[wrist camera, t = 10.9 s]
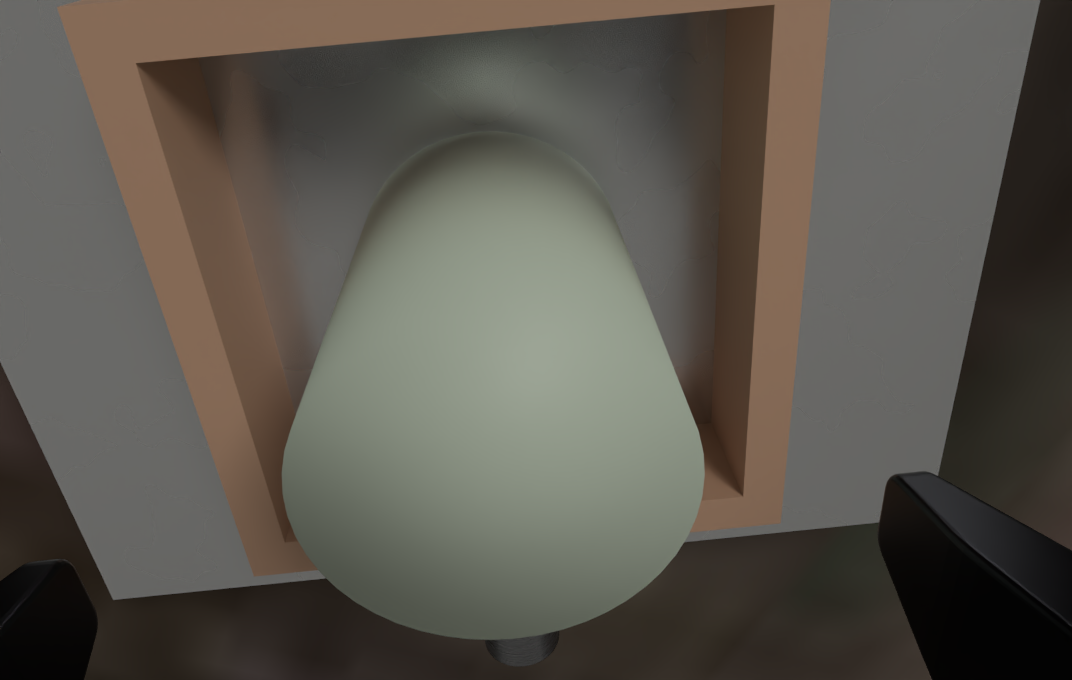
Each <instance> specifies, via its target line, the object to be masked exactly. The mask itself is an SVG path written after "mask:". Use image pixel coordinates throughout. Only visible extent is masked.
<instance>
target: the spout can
mask: <svg viewBox="0 0 1072 680" xmlns="http://www.w3.org/2000/svg"><path fill="white" fill-rule="evenodd" d="M704 478H705V470H704V453H703V448H702V444H701V439H700V435H699V431H698V429H697V426H696V423H695V421H694V418H693V416H692V413H691V411H690V408H689V406H688V403H687V400H686V398H685V395H684V393H683V390H682V388H681V385H680V383H679V380H678V377H677V375H676V372H675V370H674V367H673V365H672V362H671V360H670V357H669V354H668V352H667V349H666V347H665V344H664V342H663V339H662V337H661V334H660V332H659V329H658V326H657V324H656V321H655V319H654V316H653V314H652V311H651V309H650V306H649V303H648V301H647V298H646V296H645V293H644V291H643V288H642V286H641V283H640V280H639V278H638V275H637V273H636V270H635V268H634V265H633V263H632V260H631V257H630V255H629V252H628V250H627V247H626V245H625V242H624V240H623V237H622V234H621V232H620V229H619V227H618V224H617V222H616V219H615V217H614V214H613V212H612V209H611V207H610V204H609V202H608V200H607V198H606V196H605V195H604V193H603V191H602V190H601V188H600V186H599V185H598V184H597V183H596V181H595V180H594V179H593V177H592V176H591V175H590V174H589V173H588V172H587V171H586V170H585V169H584V168H583V167H582V166H581V165H580V164H579V163H578V162H577V161H575V160H574V159H572V158H571V157H570V156H568V155H567V154H566V153H564V152H563V151H561V150H559V149H557V148H555V147H553V146H552V145H550V144H548V143H545V142H542V141H540V140H537V139H535V138H532V137H528V136H524V135H520V134H515V133H508V132H498V131H489V132H473V133H467V134H461V135H457V136H454V137H450V138H447V139H444V140H441V141H439V142H437V143H434V144H432V145H430V146H428V147H426V148H424V149H423V150H421V151H419V152H418V153H416V154H415V155H413V156H411V157H410V158H409V159H408V160H407V161H405V162H404V163H403V164H402V165H401V166H399V167H398V168H397V169H396V170H395V172H394V173H393V174H392V175H391V176H390V177H389V178H388V179H387V180H386V182H385V183H384V185H383V186H382V188H381V189H380V191H379V192H378V194H377V196H376V198H375V200H374V202H373V204H372V206H371V208H370V211H369V214H368V216H367V219H366V222H365V225H364V227H363V230H362V233H361V236H360V239H359V241H358V244H357V247H356V250H355V252H354V255H353V258H352V261H351V264H350V266H349V269H348V272H347V275H346V277H345V280H344V283H343V286H342V288H341V291H340V294H339V297H338V300H337V302H336V305H335V308H334V311H333V313H332V316H331V319H330V322H329V325H328V327H327V330H326V333H325V336H324V338H323V341H322V344H321V347H320V349H319V352H318V355H317V358H316V361H315V363H314V366H313V369H312V372H311V374H310V377H309V380H308V383H307V385H306V388H305V391H304V394H303V397H302V399H301V402H300V405H299V408H298V410H297V413H296V416H295V419H294V422H293V424H292V427H291V430H290V433H289V437H288V440H287V443H286V447H285V450H284V457H283V465H282V492H283V499H284V503H285V508H286V512H287V516H288V519H289V522H290V524H291V527H292V529H293V532H294V534H295V537H296V538H297V540H298V542H299V543H300V545H301V547H302V548H303V550H304V552H305V554H306V555H307V556H308V558H309V559H310V560H311V562H312V563H313V564H314V565H315V567H316V568H317V569H318V570H319V572H320V573H321V574H322V575H323V576H324V577H325V578H327V579H328V580H329V581H330V582H331V583H332V584H333V585H334V586H335V587H336V588H337V589H338V590H340V591H341V592H342V593H344V594H345V595H346V596H348V597H349V598H350V599H352V600H353V601H354V602H356V603H358V604H360V605H361V606H363V607H365V608H366V609H368V610H370V611H372V612H373V613H375V614H377V615H379V616H382V617H384V618H386V619H388V620H391V621H393V622H395V623H398V624H401V625H404V626H407V627H410V628H413V629H416V630H419V631H423V632H428V633H432V634H437V635H441V636H447V637H455V638H463V639H480V640H485V643H486V646H487V649H488V651H489V652H490V654H491V655H492V656H493V657H494V658H495V659H496V660H498V661H500V662H502V663H504V664H507V665H510V666H528V665H532V664H535V663H538V662H540V661H542V660H543V659H545V658H546V657H547V656H549V655H550V654H551V653H552V651H553V650H554V649H555V647H556V645H557V643H558V640H559V630H563V629H566V628H569V627H572V626H575V625H578V624H581V623H584V622H586V621H589V620H591V619H593V618H595V617H597V616H600V615H602V614H604V613H606V612H608V611H610V610H612V609H613V608H615V607H617V606H618V605H620V604H622V603H624V602H625V601H627V600H628V599H630V598H631V597H632V596H634V595H635V594H637V593H638V592H639V591H641V590H642V589H643V588H645V587H646V586H647V585H648V584H649V583H650V582H651V581H652V580H653V579H655V578H656V577H657V576H658V575H659V574H660V573H661V572H662V571H663V570H664V569H665V567H666V566H667V565H668V564H669V563H670V561H671V560H672V559H673V558H674V557H675V555H676V554H677V553H678V551H679V549H680V548H681V546H682V545H683V543H684V542H685V540H686V538H687V537H688V535H689V533H690V530H691V528H692V526H693V524H694V522H695V519H696V517H697V514H698V510H699V507H700V503H701V499H702V495H703V486H704Z"/></svg>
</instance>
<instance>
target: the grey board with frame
mask: <svg viewBox="0 0 1072 680" xmlns="http://www.w3.org/2000/svg"><path fill="white" fill-rule="evenodd" d="M1039 4H1040V0H0V362H1V365H2V367H3V369H4V371H5V373H6V375H7V377H8V379H9V381H10V383H11V386H12V388H13V390H14V392H15V394H16V396H17V398H18V400H19V402H20V405H21V407H22V409H23V411H24V413H25V415H26V417H27V419H28V421H29V424H30V426H31V428H32V430H33V432H34V434H35V436H36V438H37V440H38V442H39V445H40V447H41V449H42V451H43V453H44V455H45V457H46V459H47V461H48V464H49V466H50V468H51V470H52V472H53V474H54V476H55V478H56V480H57V483H58V485H59V487H60V489H61V491H62V493H63V495H64V497H65V499H66V501H67V504H68V506H69V508H70V510H71V512H72V514H73V516H74V518H75V520H76V523H77V525H78V527H79V529H80V531H81V533H82V535H83V537H84V539H85V542H86V544H87V546H88V548H89V550H90V552H91V554H92V556H93V558H94V560H95V563H96V565H97V567H98V569H99V571H100V573H101V575H102V577H103V579H104V582H105V584H106V586H107V588H108V590H109V592H110V594H111V596H112V598H113V600H117V599H127V598H137V597H147V596H157V595H167V594H177V593H186V592H196V591H206V590H216V589H226V588H236V587H246V586H256V585H265V584H275V583H285V582H295V581H305V580H315V579H325V577H324V576H323V575H322V574H321V573H320V572H319V570H318V569H317V568H316V567H315V565H314V564H313V563H312V562H311V560H310V559H309V558H308V556H307V555H306V554H305V552H304V550H303V548H302V547H301V545H300V543H299V542H298V540H297V538H296V537H295V534H294V532H293V529H292V527H291V524H290V522H289V519H288V516H287V512H286V508H285V503H284V499H283V492H282V465H283V457H284V450H285V447H286V443H287V440H288V437H289V433H290V430H291V427H292V424H293V422H294V419H295V416H296V413H297V410H298V408H299V405H300V402H301V399H302V397H303V394H304V391H305V388H306V385H307V383H308V380H309V377H310V374H311V372H312V369H313V366H314V363H315V361H316V358H317V355H318V352H319V349H320V347H321V344H322V341H323V338H324V336H325V333H326V330H327V327H328V325H329V322H330V319H331V316H332V313H333V311H334V308H335V305H336V302H337V300H338V297H339V294H340V291H341V288H342V286H343V283H344V280H345V277H346V275H347V272H348V269H349V266H350V264H351V261H352V258H353V255H354V252H355V250H356V247H357V244H358V241H359V239H360V236H361V233H362V230H363V227H364V225H365V222H366V219H367V216H368V214H369V211H370V208H371V206H372V204H373V202H374V200H375V198H376V196H377V194H378V192H379V191H380V189H381V188H382V186H383V185H384V183H385V182H386V180H387V179H388V178H389V177H390V176H391V175H392V174H393V173H394V172H395V170H396V169H397V168H398V167H399V166H401V165H402V164H403V163H404V162H405V161H407V160H408V159H409V158H410V157H411V156H413V155H415V154H416V153H418V152H419V151H421V150H423V149H424V148H426V147H428V146H430V145H432V144H434V143H437V142H439V141H441V140H444V139H447V138H450V137H454V136H457V135H461V134H467V133H473V132H489V131H498V132H508V133H515V134H520V135H524V136H528V137H532V138H535V139H537V140H540V141H542V142H545V143H548V144H550V145H552V146H553V147H555V148H557V149H559V150H561V151H563V152H564V153H566V154H567V155H568V156H570V157H571V158H572V159H574V160H575V161H577V162H578V163H579V164H580V165H581V166H582V167H583V168H584V169H585V170H586V171H587V172H588V173H589V174H590V175H591V176H592V177H593V179H594V180H595V181H596V183H597V184H598V185H599V186H600V188H601V190H602V191H603V193H604V195H605V196H606V198H607V200H608V202H609V204H610V207H611V209H612V212H613V214H614V217H615V219H616V222H617V224H618V227H619V229H620V232H621V234H622V237H623V240H624V242H625V245H626V247H627V250H628V252H629V255H630V257H631V260H632V263H633V265H634V268H635V270H636V273H637V275H638V278H639V280H640V283H641V286H642V288H643V291H644V293H645V296H646V298H647V301H648V303H649V306H650V309H651V311H652V314H653V316H654V319H655V321H656V324H657V326H658V329H659V332H660V334H661V337H662V339H663V342H664V344H665V347H666V349H667V352H668V354H669V357H670V360H671V362H672V365H673V367H674V370H675V372H676V375H677V377H678V380H679V383H680V385H681V388H682V390H683V393H684V395H685V398H686V400H687V403H688V406H689V408H690V411H691V413H692V416H693V418H694V421H695V423H696V426H697V429H698V431H699V435H700V439H701V444H702V448H703V453H704V470H705V478H704V486H703V495H702V499H701V503H700V507H699V510H698V514H697V517H696V519H695V522H694V524H693V526H692V528H691V530H690V533H689V535H688V537H687V538H686V540H685V542H691V541H700V540H710V539H720V538H730V537H740V536H750V535H760V534H770V533H780V532H789V531H799V530H809V529H819V528H829V527H839V526H849V525H859V524H868V523H878V522H879V520H880V515H881V509H882V503H883V497H884V492H885V486H886V483H887V481H888V479H889V478H890V477H891V476H892V475H894V474H899V473H909V472H919V471H926V472H930V473H933V474H935V475H937V476H938V473H939V469H940V464H941V459H942V455H943V450H944V445H945V441H946V436H947V431H948V427H949V422H950V417H951V413H952V408H953V403H954V399H955V394H956V390H957V385H958V380H959V376H960V371H961V366H962V362H963V357H964V352H965V348H966V343H967V338H968V334H969V329H970V324H971V320H972V315H973V310H974V306H975V301H976V297H977V292H978V287H979V283H980V278H981V273H982V269H983V264H984V259H985V255H986V250H987V245H988V241H989V236H990V231H991V227H992V222H993V217H994V213H995V208H996V204H997V199H998V194H999V190H1000V185H1001V180H1002V176H1003V171H1004V166H1005V162H1006V157H1007V152H1008V148H1009V143H1010V138H1011V134H1012V129H1013V124H1014V120H1015V115H1016V111H1017V106H1018V101H1019V97H1020V92H1021V87H1022V83H1023V78H1024V73H1025V69H1026V64H1027V59H1028V55H1029V50H1030V45H1031V41H1032V36H1033V31H1034V27H1035V22H1036V18H1037V13H1038V8H1039Z"/></svg>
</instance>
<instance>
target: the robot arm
mask: <svg viewBox="0 0 1072 680" xmlns="http://www.w3.org/2000/svg"><path fill="white" fill-rule="evenodd" d="M878 542H879V547H880V550H881V553H882V556H883V558H884V561H885V563H886V566H887V568H888V571H889V574H890V576H891V579H892V581H893V584H894V586H895V589H896V591H897V594H898V596H899V599H900V601H901V604H902V606H903V609H904V611H905V614H906V616H907V619H908V622H909V624H910V627H911V629H912V632H913V634H914V637H915V639H916V642H917V644H918V647H919V649H920V652H921V654H922V657H923V659H924V662H925V664H926V666H927V669H928V671H929V673H930V676H931V678H932V680H1072V551H1071V550H1070V549H1068V548H1066V547H1064V546H1062V545H1061V544H1059V543H1057V542H1055V541H1053V540H1052V539H1050V538H1048V537H1046V536H1044V535H1043V534H1041V533H1039V532H1037V531H1035V530H1034V529H1032V528H1030V527H1028V526H1027V525H1025V524H1023V523H1021V522H1019V521H1018V520H1016V519H1014V518H1012V517H1010V516H1009V515H1007V514H1005V513H1003V512H1001V511H1000V510H998V509H996V508H994V507H992V506H991V505H989V504H987V503H985V502H983V501H982V500H980V499H978V498H976V497H974V496H973V495H971V494H969V493H967V492H965V491H964V490H962V489H960V488H958V487H956V486H955V485H953V484H951V483H949V482H947V481H946V480H944V479H942V478H940V477H939V476H937V475H935V474H933V473H930V472H926V471H919V472H909V473H899V474H894V475H892V476H891V477H890V478H889V479H888V481H887V483H886V486H885V492H884V497H883V503H882V509H881V515H880V520H879V526H878ZM97 626H98V620H97V613H96V610H95V607H94V605H93V603H92V601H91V599H90V597H89V595H88V593H87V591H86V589H85V587H84V585H83V583H82V581H81V579H80V577H79V575H78V573H77V571H76V569H75V567H74V565H73V564H72V563H70V562H69V561H67V560H64V559H54V560H45V561H35V562H30V563H27V564H24V565H22V566H21V567H19V568H18V569H17V570H15V571H14V572H12V573H11V574H10V575H8V576H7V577H6V578H4V579H3V580H1V581H0V680H84V678H85V674H86V671H87V667H88V663H89V660H90V656H91V652H92V649H93V645H94V641H95V638H96V634H97Z"/></svg>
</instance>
